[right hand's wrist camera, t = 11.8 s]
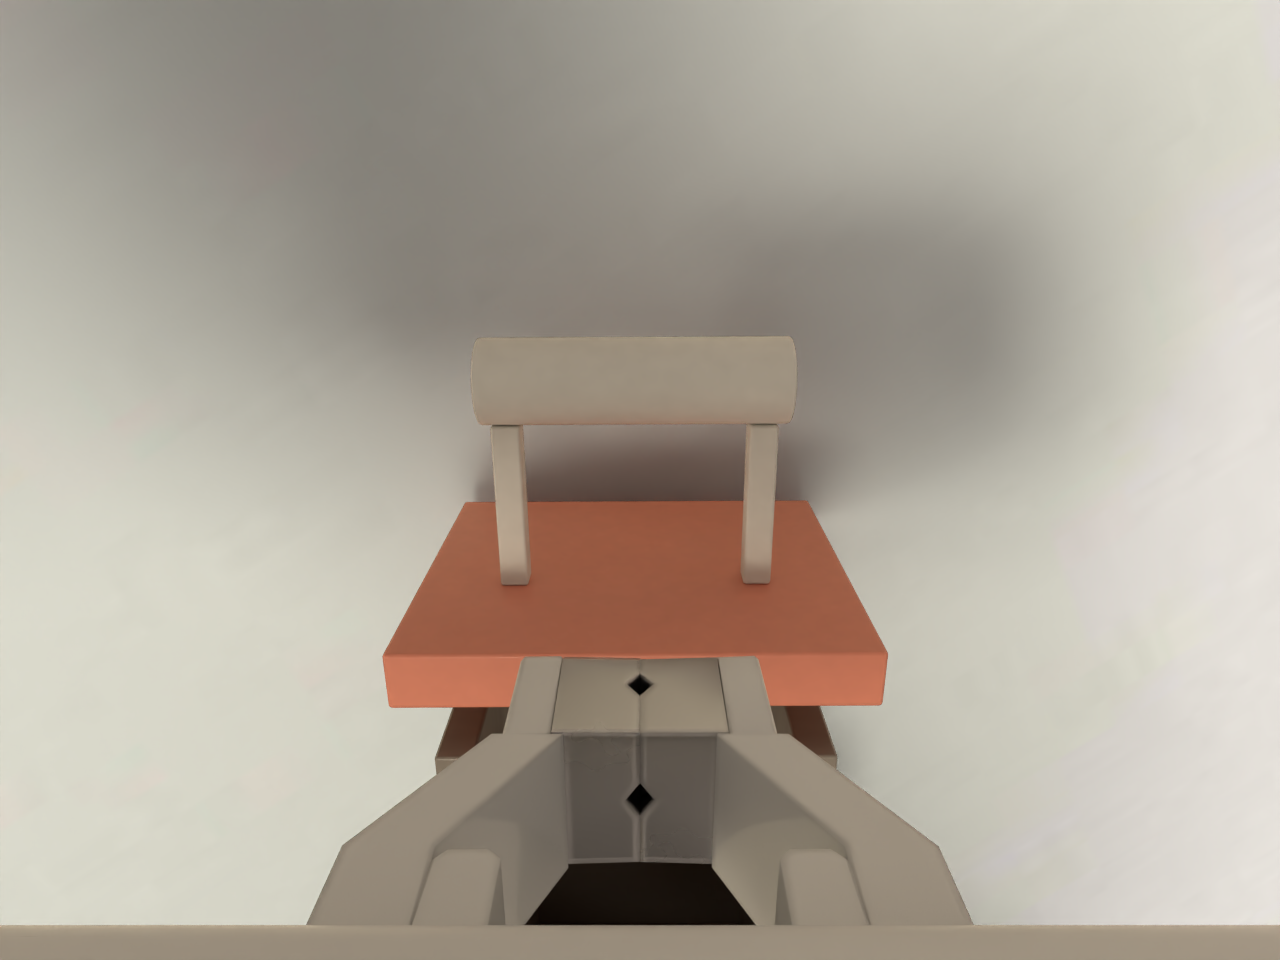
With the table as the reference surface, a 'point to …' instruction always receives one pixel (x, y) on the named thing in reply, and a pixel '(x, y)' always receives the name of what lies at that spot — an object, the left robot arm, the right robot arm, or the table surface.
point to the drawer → (634, 577)
